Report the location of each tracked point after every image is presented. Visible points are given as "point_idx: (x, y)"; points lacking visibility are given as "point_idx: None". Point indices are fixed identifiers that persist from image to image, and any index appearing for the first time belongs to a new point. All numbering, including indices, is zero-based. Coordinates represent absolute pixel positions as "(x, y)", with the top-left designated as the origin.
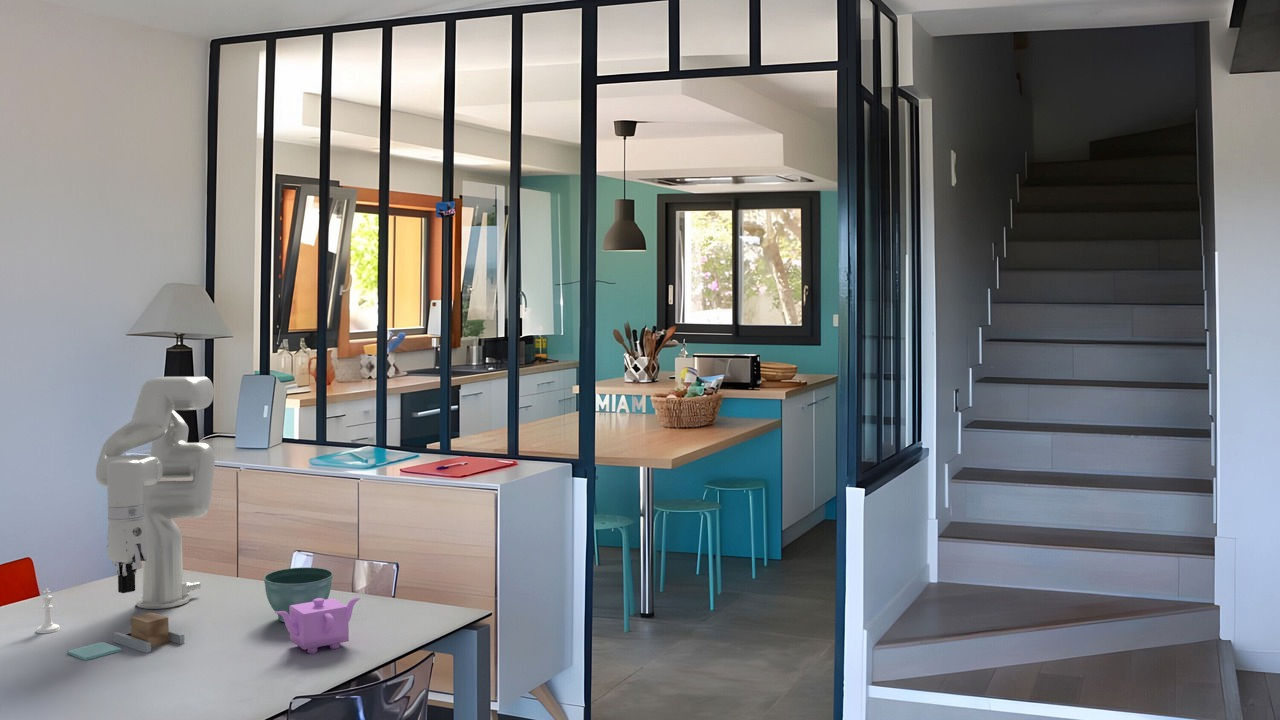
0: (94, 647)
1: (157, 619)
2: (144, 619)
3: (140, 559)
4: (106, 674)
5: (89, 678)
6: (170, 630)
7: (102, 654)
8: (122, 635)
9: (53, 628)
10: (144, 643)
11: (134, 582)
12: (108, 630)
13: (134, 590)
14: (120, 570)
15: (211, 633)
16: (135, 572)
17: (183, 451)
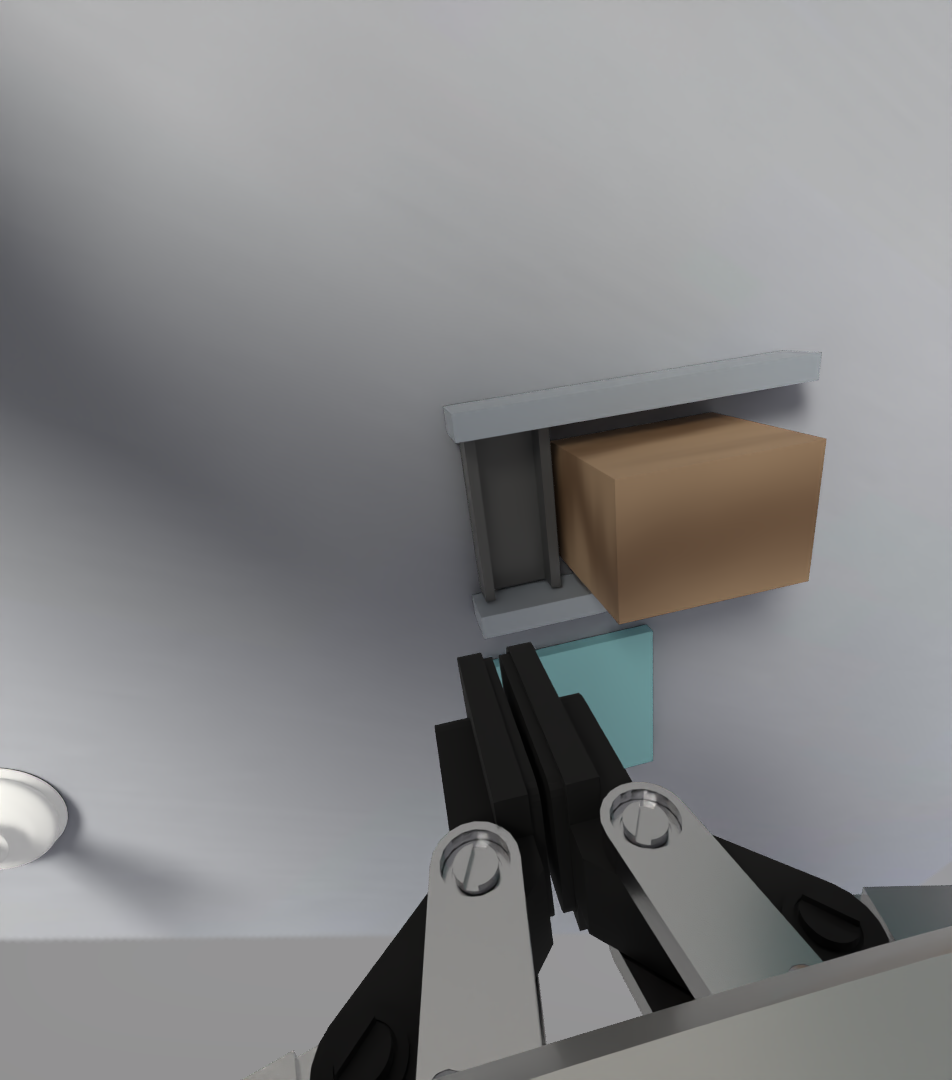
0: None
1: (807, 512)
2: (737, 573)
3: (881, 985)
4: (845, 724)
5: (831, 769)
6: (692, 380)
7: (650, 700)
8: (567, 615)
9: (44, 812)
10: None
11: (559, 699)
12: (224, 580)
13: (527, 644)
14: (538, 1002)
15: (762, 117)
16: (681, 810)
17: None
